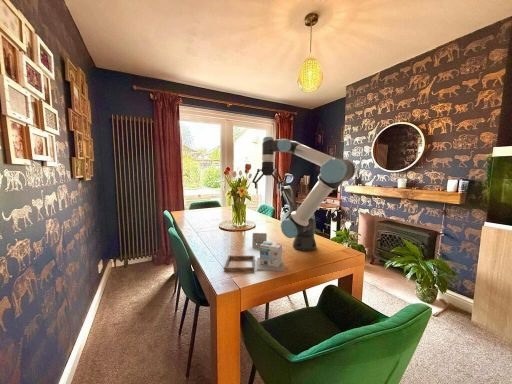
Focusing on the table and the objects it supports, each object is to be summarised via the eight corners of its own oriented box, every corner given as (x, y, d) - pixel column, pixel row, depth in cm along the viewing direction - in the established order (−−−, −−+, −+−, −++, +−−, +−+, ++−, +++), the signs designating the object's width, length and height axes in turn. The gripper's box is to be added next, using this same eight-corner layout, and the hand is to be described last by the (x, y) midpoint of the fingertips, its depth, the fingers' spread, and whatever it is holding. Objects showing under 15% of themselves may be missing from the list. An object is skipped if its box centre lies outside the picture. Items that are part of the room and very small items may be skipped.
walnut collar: (254, 259, 122) (254, 255, 122) (254, 271, 107) (254, 268, 107) (228, 258, 122) (228, 255, 122) (224, 271, 108) (224, 267, 107)
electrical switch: (252, 247, 139) (252, 233, 139) (252, 245, 144) (252, 231, 144) (266, 248, 138) (266, 234, 138) (266, 246, 144) (266, 232, 143)
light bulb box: (259, 263, 115) (259, 244, 113) (263, 258, 121) (263, 240, 120) (278, 267, 111) (278, 247, 110) (281, 262, 117) (282, 243, 116)
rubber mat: (281, 259, 122) (281, 258, 122) (284, 271, 109) (284, 269, 108) (257, 258, 123) (257, 257, 123) (257, 270, 109) (257, 269, 109)
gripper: (286, 161, 143) (285, 193, 146) (249, 161, 143) (248, 192, 146) (287, 161, 136) (286, 194, 138) (248, 161, 136) (248, 194, 139)
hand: (267, 193), depth 142 cm, fingers open, 13 cm apart
